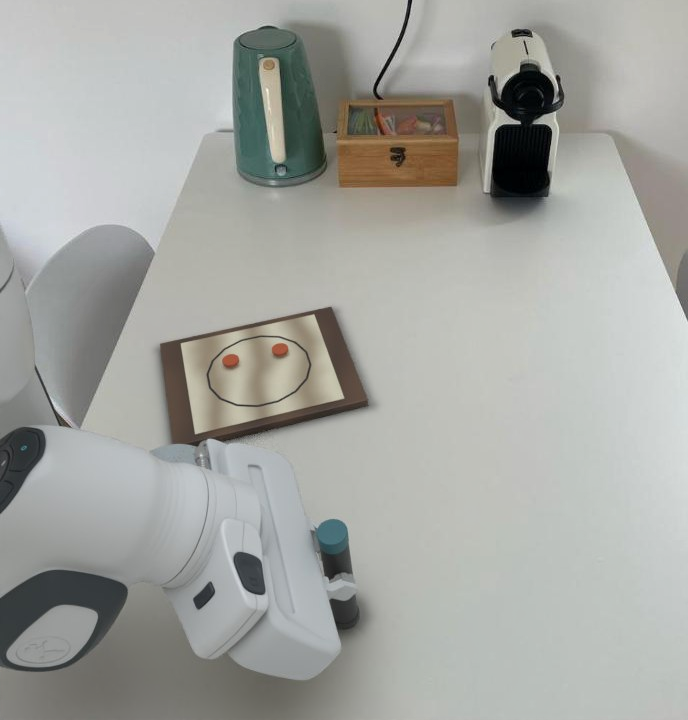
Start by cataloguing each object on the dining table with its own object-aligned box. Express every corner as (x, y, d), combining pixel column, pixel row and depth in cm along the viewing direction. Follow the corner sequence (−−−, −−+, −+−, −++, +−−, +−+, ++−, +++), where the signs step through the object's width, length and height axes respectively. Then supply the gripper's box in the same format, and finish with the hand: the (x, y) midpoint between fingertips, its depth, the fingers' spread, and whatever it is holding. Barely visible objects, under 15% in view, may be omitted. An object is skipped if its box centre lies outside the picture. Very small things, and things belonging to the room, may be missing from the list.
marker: (334, 632, 72) (319, 548, 64) (328, 607, 74) (312, 522, 66) (362, 624, 73) (351, 540, 64) (355, 599, 75) (343, 514, 66)
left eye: (223, 368, 96) (223, 366, 96) (221, 357, 98) (221, 356, 97) (240, 364, 97) (240, 363, 96) (238, 354, 98) (237, 352, 98)
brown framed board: (175, 452, 89) (172, 445, 88) (161, 349, 102) (159, 342, 101) (368, 405, 93) (367, 398, 92) (332, 312, 106) (331, 305, 105)
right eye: (273, 357, 97) (273, 355, 97) (270, 346, 99) (270, 345, 99) (289, 353, 98) (289, 351, 98) (286, 343, 99) (286, 341, 99)
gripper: (171, 458, 69) (298, 499, 77) (199, 679, 54) (351, 700, 63) (213, 409, 67) (339, 457, 75) (254, 626, 52) (404, 655, 61)
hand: (345, 570), depth 69 cm, fingers closed on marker, 2 cm apart
